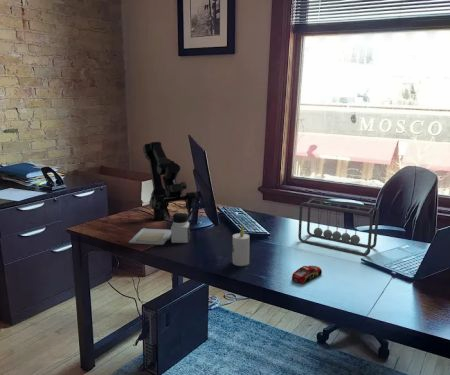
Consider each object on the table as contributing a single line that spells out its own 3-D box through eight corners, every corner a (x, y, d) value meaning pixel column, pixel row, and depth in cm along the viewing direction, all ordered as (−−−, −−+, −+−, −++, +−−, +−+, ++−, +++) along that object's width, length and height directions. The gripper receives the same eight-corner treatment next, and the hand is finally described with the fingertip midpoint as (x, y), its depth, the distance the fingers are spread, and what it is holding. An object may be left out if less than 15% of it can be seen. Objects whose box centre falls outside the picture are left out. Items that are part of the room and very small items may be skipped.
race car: (311, 269, 146) (312, 259, 145) (324, 274, 142) (325, 264, 141) (288, 280, 137) (289, 269, 136) (301, 286, 133) (302, 275, 132)
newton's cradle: (297, 241, 172) (299, 201, 168) (307, 234, 180) (309, 196, 176) (369, 257, 156) (373, 213, 152) (376, 248, 164) (379, 207, 160)
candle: (229, 260, 153) (229, 223, 149) (245, 258, 155) (245, 221, 151) (235, 267, 147) (235, 228, 143) (251, 264, 149) (252, 226, 146)
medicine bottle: (188, 243, 170) (187, 216, 167) (171, 243, 170) (170, 216, 168) (189, 237, 177) (189, 211, 174) (173, 237, 177) (173, 211, 175)
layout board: (142, 229, 187) (142, 226, 186) (173, 231, 185) (173, 228, 184) (128, 243, 170) (128, 239, 170) (163, 244, 168) (163, 241, 168)
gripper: (153, 177, 169) (162, 209, 162) (194, 173, 176) (204, 204, 169) (149, 191, 177) (157, 222, 170) (189, 187, 185) (198, 216, 178)
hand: (179, 216), depth 172 cm, fingers open, 9 cm apart
